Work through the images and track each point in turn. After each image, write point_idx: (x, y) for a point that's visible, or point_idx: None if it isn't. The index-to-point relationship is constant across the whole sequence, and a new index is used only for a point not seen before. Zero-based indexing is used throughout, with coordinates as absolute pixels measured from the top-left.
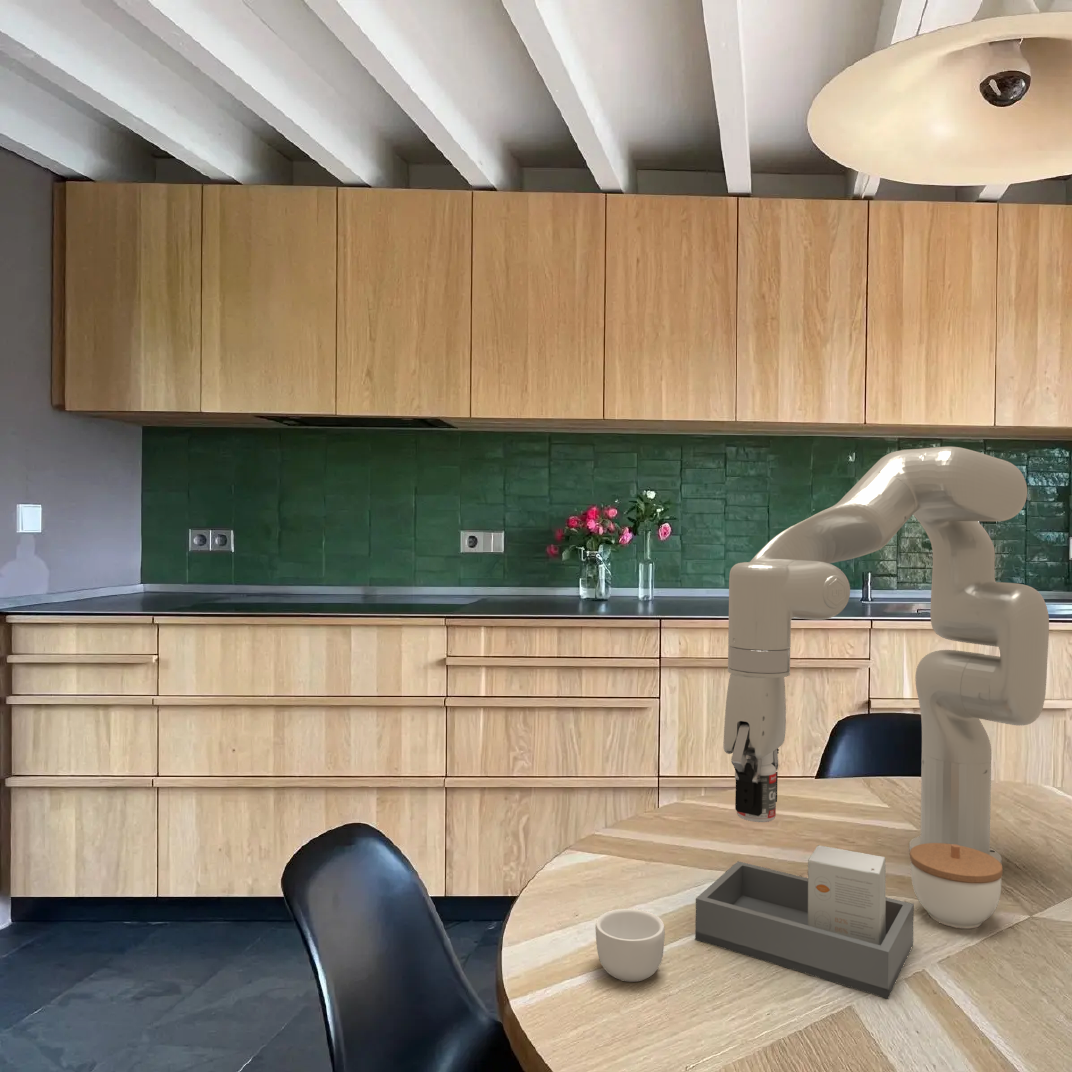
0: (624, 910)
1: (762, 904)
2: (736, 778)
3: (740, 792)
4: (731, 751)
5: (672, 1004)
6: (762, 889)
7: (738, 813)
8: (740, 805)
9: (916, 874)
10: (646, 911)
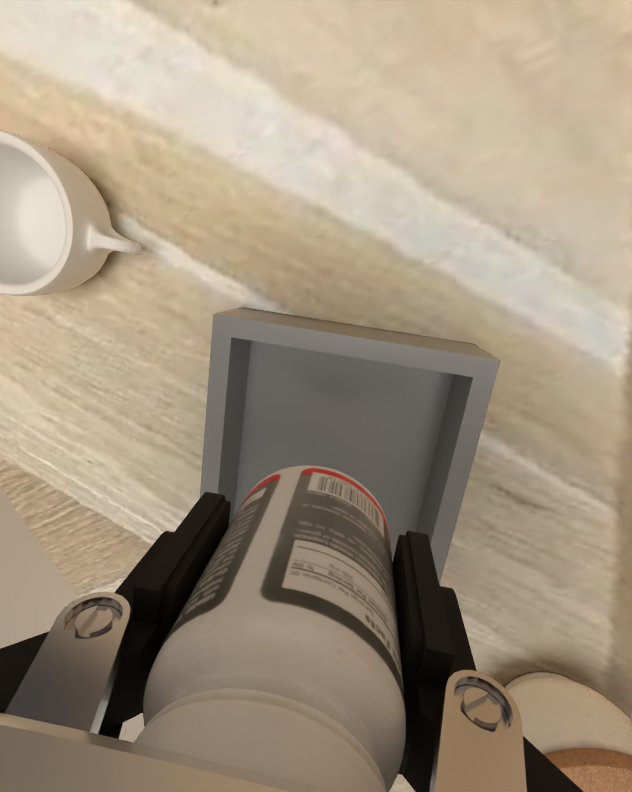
0: (48, 174)
1: (425, 410)
2: (77, 607)
3: (133, 570)
4: (45, 725)
5: (28, 329)
6: (450, 415)
7: (262, 481)
8: (165, 531)
9: (541, 735)
10: (70, 229)
